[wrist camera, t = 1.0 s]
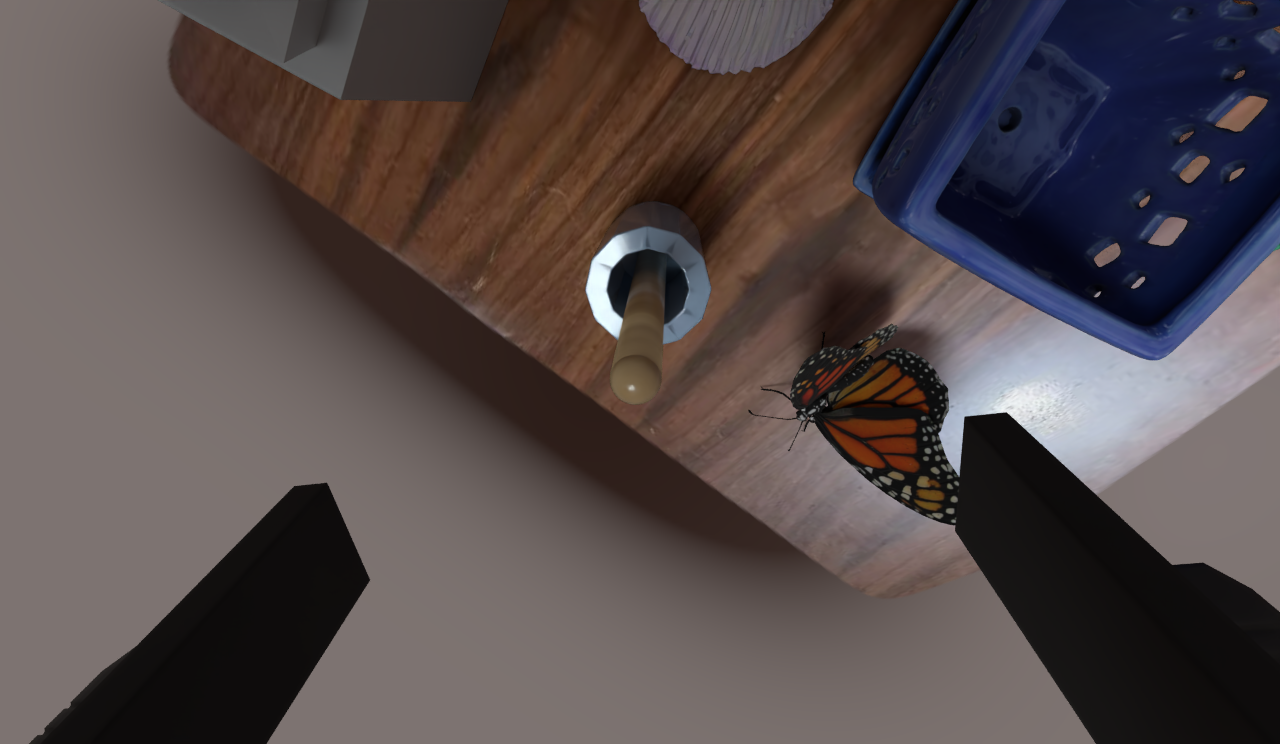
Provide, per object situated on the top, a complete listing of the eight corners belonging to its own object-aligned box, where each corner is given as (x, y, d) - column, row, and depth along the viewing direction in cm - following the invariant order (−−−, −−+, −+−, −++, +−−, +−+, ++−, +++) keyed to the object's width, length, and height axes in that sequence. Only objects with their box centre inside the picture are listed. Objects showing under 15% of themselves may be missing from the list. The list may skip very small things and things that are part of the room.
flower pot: (1192, 55, 29) (1505, 26, 18) (1009, 290, 34) (1167, 377, 23) (968, -83, 27) (1167, -209, 16) (812, 187, 32) (883, 228, 21)
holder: (585, 251, 34) (561, 290, 27) (652, 179, 33) (646, 200, 25) (654, 315, 36) (649, 369, 29) (721, 249, 34) (735, 289, 27)
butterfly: (700, 357, 37) (710, 439, 28) (827, 249, 34) (885, 302, 25) (821, 476, 40) (865, 586, 31) (947, 388, 37) (1038, 481, 28)
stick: (632, 254, 34) (595, 390, 18) (652, 233, 33) (633, 355, 17) (653, 273, 34) (635, 423, 18) (672, 253, 33) (672, 390, 17)
